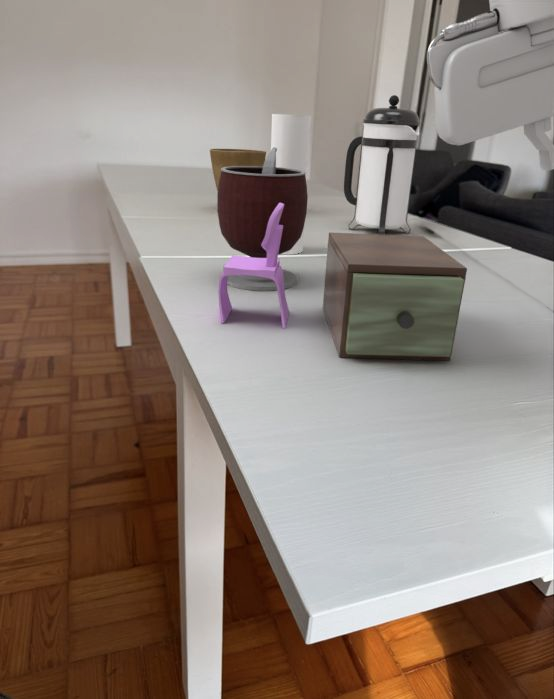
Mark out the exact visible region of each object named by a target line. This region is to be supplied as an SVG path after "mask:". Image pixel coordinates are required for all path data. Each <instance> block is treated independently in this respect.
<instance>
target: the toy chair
mask: <svg viewBox="0 0 554 699" xmlns="http://www.w3.org/2000/svg"><path fill="white" fill-rule="evenodd" d="M283 208H284V204H283V203H279V204H278V205H277V207H276V208H275V210H274V211H273V213H272V215H271V217H270V219H269V222H268V225H267V230H266V235H265V238H264V240H263V242H262V244H261V246H262V247H263V248H264V249H265V250H266V251H267V258H253V257H250V256H246V255H234V254H232V255H231V256H230V258H229V260H228V261H227V262H226V263H225V264H224V266H223V267H222V274H221V276H220V277H219V280H218V291H217V292H218V308H219V317H220V324H225V322H226V321H227V319H228V317H229V316H230V313H231V311H232V309H233V306H232V302H231V300H230V295H229V291H228V285H227V282H228V275H252V276H258V277H264V278H270V279H272V280H273V281H274V282H275V283H276V286H277V290H276V291H277V296H278V302H279V308H280V317H281V326H282V329H286V328H287V323H288V320H289V315H290V309H289V305H288V302H287V296H286V291H285V290H286V289H284V276H283V270H282V269H283V267H282V266H281V264H280V263H281V258H278V257H279V255H278V252H279V247H280V241H281V236H282V230H283V225H279V221H280V217H281V214H282V211H283Z"/></svg>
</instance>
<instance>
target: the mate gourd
mask: <svg viewBox="0 0 554 699" xmlns="http://www.w3.org/2000/svg"><path fill="white" fill-rule="evenodd" d="M276 152H277V148H276V147H273V148H272V150H271V149H270V150H269V153H268V154H267V155H266V157H265V162H264V165H263V166H230V167H223V168H221V175H220V179H219V186H218V191H217V193H216V194H217V195H216V196H217V207H216V208H217V209H216V210H217V216H218V224H219V225H218V226H219V229H220V233H221V235H222V237H223V238H224V239H225V241H226V243H227V244H228V245H229V247H230V248H231V249H233V250H235V251H237V252H239V253H241V254H244V255H245V256H247V257H253V258H267V251H266V250H265V249H264V248H263V247H262V246H261V244H262V242H263V240H264V238H265V235H266V230H267V225H268V222H269V219H270V217H271V215H272V213H273V211H274V210H275V208H276V207H277V205H278V204H279V203H283V204H284V208H283V211H282V214H281V217H280V221H279V225H283V230H282V236H281V241H280V247H279V252H278V256H279V255H283V254H282V253H284V252H287V251H289V250H291V249H292V248H293V246H294V245H295V244H296V243H297V241H298V240H299V239H300V238H301V235H302V232H303V228H304V229H305V223H306V219H307V213H308V196H309V195H308V182H307V183H306V177H305V174H306V172H305V171H302V170H296V169H289V168H279V167H276ZM282 270H283V276H284V289H285V290H286V289H290V288H293V287H294V286H296V285H297V284H298V276H297V274H295V273H294V272H292V271H291V270H287V269H284V268H282ZM227 286H230V287H232V288H236V289H239V290H240V289H241V290H248V291H257V292H258V291H259V292H271V291H278V290H277V286H276V283H275V282H274V281H273V280H272V279H270V278H264V277H258V276H252V275H228V282H227Z"/></svg>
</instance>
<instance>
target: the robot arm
mask: <svg viewBox="0 0 554 699" xmlns="http://www.w3.org/2000/svg"><path fill="white" fill-rule="evenodd" d="M488 3H489V11H487V12H484V13H481V14H478V15H476V16H473V17H471V18H469V19H467V20H463V21H461V22H455V23H451V24H448V25H446V26H444V27H442V28H441V29H440V31H439V34H437V35H436V36H435V37H434V38H433V39H432V40H431V41H430V44H429V45H428V48H427V51H426V63H427V69H428V70H427V71H428V76H429V80H430V81H431V83H432V85H434V112H435V113H434V114H435V124H436V126H435V127H436V132H437V136H438V137H439V138H440V139H441V140H442V141H443V142H445V143H446V144H449V145H453V146H464V145H466V144H469V143H472V142H477V141H479V140H482V139H485V138H489V137H492V136H495V135H498V134H502V133H505V132H507V131H510V130H514V129H517V128H519V127H523V133H524V136H525V137H526V138H527V140H529V142H530V143H531V144H532V145H533V146H534V148H535V149H536V150H537V151H538V158H539V166H540V168H541V170H543V171H547V172H549V171H552V170H554V143H553V142H552V141H551V138H549V136H548V135H547V134H546V133H545V132H550V131H551V130H552V120H551V119H552V118H551V117H554V0H488ZM439 41H442V42H441V43H439ZM438 43H439V44H438Z"/></svg>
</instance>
